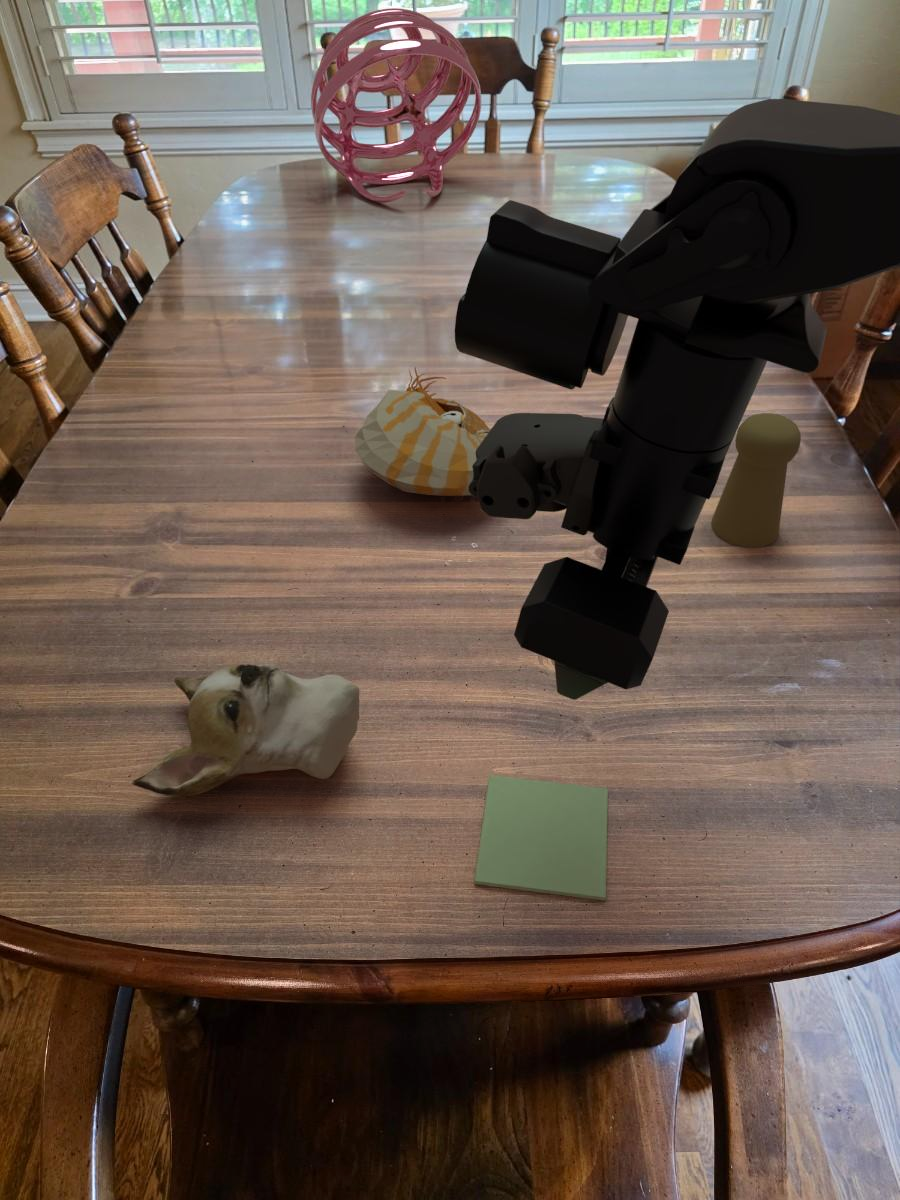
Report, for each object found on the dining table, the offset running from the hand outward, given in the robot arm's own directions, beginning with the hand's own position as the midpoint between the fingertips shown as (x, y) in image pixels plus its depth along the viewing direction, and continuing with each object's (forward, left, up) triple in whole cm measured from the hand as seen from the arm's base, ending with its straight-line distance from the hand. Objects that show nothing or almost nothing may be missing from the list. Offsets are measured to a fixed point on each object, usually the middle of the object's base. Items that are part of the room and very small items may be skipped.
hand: (589, 640), depth 51 cm
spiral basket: (+36, -122, -13) cm, 128 cm away
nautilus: (+16, -37, -13) cm, 42 cm away
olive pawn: (-14, -30, -13) cm, 36 cm away
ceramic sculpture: (+22, +1, -13) cm, 25 cm away
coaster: (+2, +5, -13) cm, 14 cm away
